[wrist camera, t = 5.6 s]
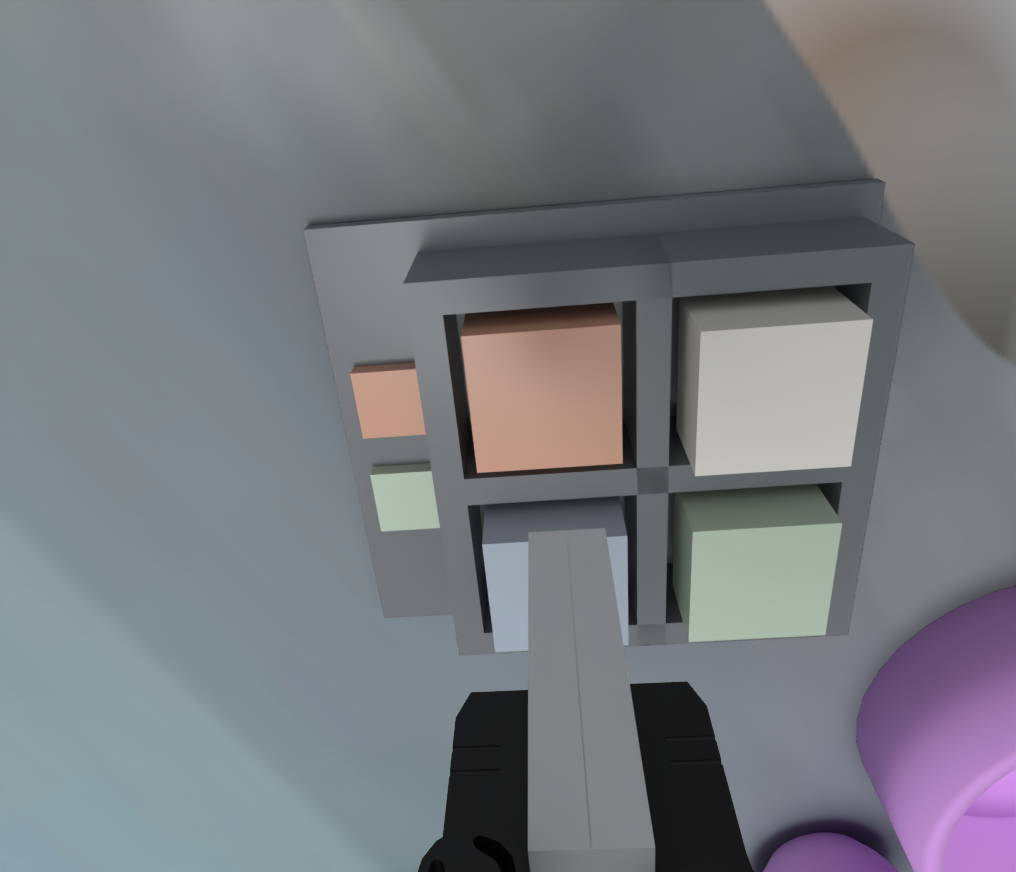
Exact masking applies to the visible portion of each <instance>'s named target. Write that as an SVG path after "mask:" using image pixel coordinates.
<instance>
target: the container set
mask: <svg viewBox="0 0 1016 872" xmlns="http://www.w3.org/2000/svg"><path fill="white" fill-rule="evenodd" d="M856 742H857V745H858V749H859V752H860V755H861V759H862V762H863V764H864V766H865V768H866V771H867V773H868V775H869V777H870V779H871V781H872V783H873V785H874V788H875V790H876V792H877V794H878V796H879V798H880V800H881V802H882V805H883V807H884V809H885V811H886V813H887V815H888V817H889V819H890V822H891V824H892V826H893V828H894V830H895V832H896V834H897V836H898V838H899V841H900V843H901V845H902V847H903V849H904V851H905V853H906V855H907V858H908V860H909V862H910V864H911V866H912V868H913V870H914V872H1016V586H1013V587H1010V588H1006V589H1002V590H999V591H995V592H992V593H990V594H988V595H985V596H983V597H981V598H978V599H976V600H974V601H972V602H969V603H967V604H965V605H962V606H960V607H958V608H956V609H954V610H953V611H951V612H949V613H948V614H946V615H944V616H943V617H941V618H939V619H938V620H936V621H934V622H933V623H931V624H929V625H927V626H926V627H924V628H923V629H922V630H921V631H920V632H918V633H917V634H916V635H915V636H913V637H912V638H911V639H910V640H909V641H907V642H906V643H905V644H904V645H902V646H901V647H900V648H899V649H898V650H897V651H896V652H895V653H894V654H893V656H892V657H891V658H890V659H889V660H888V661H887V662H886V664H885V665H884V666H883V667H882V668H881V669H880V670H879V671H878V673H877V675H876V676H875V678H874V680H873V681H872V683H871V685H870V687H869V688H868V690H867V692H866V693H865V695H864V698H863V701H862V704H861V708H860V711H859V714H858V718H857V740H856ZM763 872H898V871H897V870H896V869H895V868H894V866H893V865H892V864H891V863H890V862H889V861H887V860H886V859H885V858H884V857H882V856H881V855H880V854H878V853H877V852H876V851H874V850H873V849H871V848H869V847H868V846H866V845H864V844H862V843H860V842H858V841H857V840H855V839H853V838H851V837H849V836H846V835H843V834H839V833H831V832H819V833H811V834H807V835H802V836H799V837H797V838H794V839H792V840H790V841H788V842H786V843H784V844H783V845H781V846H780V847H779V848H778V849H777V850H776V851H775V852H774V853H773V854H772V856H771V858H770V859H769V862H768V864H767V866H766V867H765V869H764V871H763Z"/></svg>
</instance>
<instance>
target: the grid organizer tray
mask: <svg viewBox="0 0 1016 872" xmlns="http://www.w3.org/2000/svg"><path fill="white" fill-rule="evenodd" d="M884 189H885V182H884V181H881V180H879V179H869V180H857V181H845V182H833V183H820V184H808V185H796V186H784V187H772V188H760V189H747V190H735V191H723V192H711V193H699V194H687V195H675V196H662V197H650V198H638V199H626V200H614V201H602V202H590V203H577V204H565V205H553V206H541V207H529V208H517V209H504V210H492V211H480V212H468V213H456V214H444V215H432V216H419V217H407V218H395V219H383V220H371V221H359V222H347V223H334V224H322V225H310V226H307V227H306V228H305V229H304V230H303V231H304V235H305V240H306V245H307V250H308V255H309V259H310V264H311V269H312V274H313V279H314V283H315V288H316V293H317V298H318V303H319V307H320V312H321V317H322V322H323V327H324V331H325V336H326V341H327V346H328V351H329V355H330V360H331V365H332V370H333V375H334V379H335V384H336V389H337V394H338V399H339V403H340V408H341V413H342V418H343V423H344V427H345V432H346V437H347V442H348V446H349V451H350V456H351V461H352V466H353V470H354V475H355V480H356V485H357V490H358V494H359V499H360V504H361V509H362V514H363V518H364V523H365V528H366V533H367V538H368V542H369V547H370V552H371V557H372V562H373V566H374V571H375V576H376V581H377V586H378V590H379V595H380V600H381V605H382V610H383V614H384V618H393V617H411V616H430V615H448V614H453V616H454V623H455V629H456V636H457V643H458V649H459V655H474V654H494V653H513V652H528V651H511V652H495V646H494V638H493V630H492V622H491V613H490V605H489V597H488V589H487V580H486V572H485V564H484V556H483V548H482V540H483V526H484V512H485V504H499V503H515V502H531V501H547V500H564V499H580V498H596V497H612V496H619V499H620V504H621V509H622V513H623V518H624V522H625V527H626V532H627V546H628V644H629V645H625V646H624V647H627V646H646V645H666V644H685V643H704V642H723V641H742V640H761V639H780V638H799V637H818V636H838V635H848V633H849V627H850V621H851V615H852V609H853V604H854V598H855V592H856V586H857V580H858V574H859V568H860V563H861V557H862V551H863V545H864V539H865V533H866V527H867V522H868V516H869V510H870V504H871V498H872V492H873V486H874V481H875V475H876V469H877V463H878V457H879V451H880V445H881V440H882V434H883V428H884V422H885V416H886V410H887V404H888V398H889V393H890V387H891V381H892V375H893V369H894V363H895V357H896V352H897V346H898V340H899V334H900V328H901V322H902V316H903V311H904V305H905V299H906V293H907V287H908V281H909V275H910V270H911V264H912V258H913V252H914V246H915V244H914V243H912V242H910V241H909V240H907V239H905V238H903V237H901V236H899V235H897V234H895V233H893V232H892V231H890V230H888V229H886V228H884V227H882V226H880V225H879V223H880V216H881V209H882V202H883V195H884ZM822 286H833V287H834V288H835V289H836V290H838V291H839V292H840V293H841V294H842V295H844V296H845V297H846V298H847V299H849V300H850V301H851V302H852V303H854V304H855V305H856V306H857V307H859V308H860V309H861V310H862V311H864V312H865V313H866V314H867V315H869V316H870V317H871V318H872V319H873V324H872V331H871V338H870V344H869V351H868V357H867V364H866V370H865V377H864V384H863V390H862V397H861V403H860V410H859V417H858V423H857V430H856V436H855V443H854V449H853V456H852V463H851V466H849V467H833V468H817V469H802V470H786V471H770V472H754V473H739V474H723V475H707V476H695V475H694V472H693V470H692V467H691V465H690V462H689V460H688V457H687V455H686V452H685V450H684V447H683V445H682V442H681V440H680V437H679V435H678V432H677V430H676V422H677V381H678V341H679V301H680V297H689V296H702V295H716V294H729V293H742V292H755V291H769V290H782V289H795V288H808V287H822ZM610 302H613V304H614V306H615V309H616V312H617V315H618V318H619V321H620V324H621V371H622V447H623V464H608V465H593V466H577V467H562V468H546V469H531V470H515V471H500V472H484V473H477V467H476V459H475V450H474V442H473V434H472V425H471V417H470V408H469V400H468V392H467V383H466V375H465V366H464V358H463V350H462V341H461V334H462V328H463V323H464V318H465V313H477V312H490V311H504V310H517V309H530V308H543V307H557V306H570V305H583V304H596V303H610ZM804 484H817V485H818V487H819V489H820V490H821V492H822V493H823V495H824V496H825V498H826V499H827V501H828V502H829V504H830V505H831V507H832V508H833V510H834V511H835V513H836V514H837V516H838V517H839V519H840V520H841V522H842V529H841V535H840V542H839V548H838V555H837V561H836V568H835V575H834V581H833V588H832V594H831V601H830V608H829V614H828V621H827V627H826V634H825V635H816V636H797V637H778V638H759V639H740V640H721V641H702V642H688V638H687V635H686V631H685V628H684V624H683V621H682V617H681V613H680V610H679V606H678V603H677V599H676V595H675V592H674V588H673V585H672V582H673V542H674V502H675V493H676V492H692V491H708V490H724V489H740V488H756V487H772V486H788V485H804Z"/></svg>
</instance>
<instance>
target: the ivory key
mask: <svg viewBox="0 0 1016 872" xmlns="http://www.w3.org/2000/svg"><path fill="white" fill-rule="evenodd" d="M872 324H873V319H872V318H871V317H870V316H869V315H867V314H866V313H865V312H864V311H862V310H861V309H860V308H859V307H857V306H856V305H855V304H854V303H852V302H851V301H850V300H849V299H847V298H846V297H845V296H844V295H842V294H841V293H840V292H839V291H838V290H836V289H835V288H834V287H833V286H822V287H808V288H795V289H782V290H769V291H755V292H742V293H729V294H716V295H702V296H689V297H680V301H679V341H678V381H677V422H676V430H677V432H678V435H679V437H680V440H681V442H682V445H683V447H684V450H685V452H686V455H687V457H688V460H689V462H690V465H691V467H692V470H693V472H694V475H695V476H707V475H723V474H739V473H754V472H770V471H786V470H802V469H817V468H833V467H849V466H851V463H852V456H853V449H854V443H855V436H856V430H857V423H858V417H859V410H860V403H861V397H862V390H863V384H864V377H865V370H866V364H867V357H868V351H869V344H870V338H871V331H872Z"/></svg>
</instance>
